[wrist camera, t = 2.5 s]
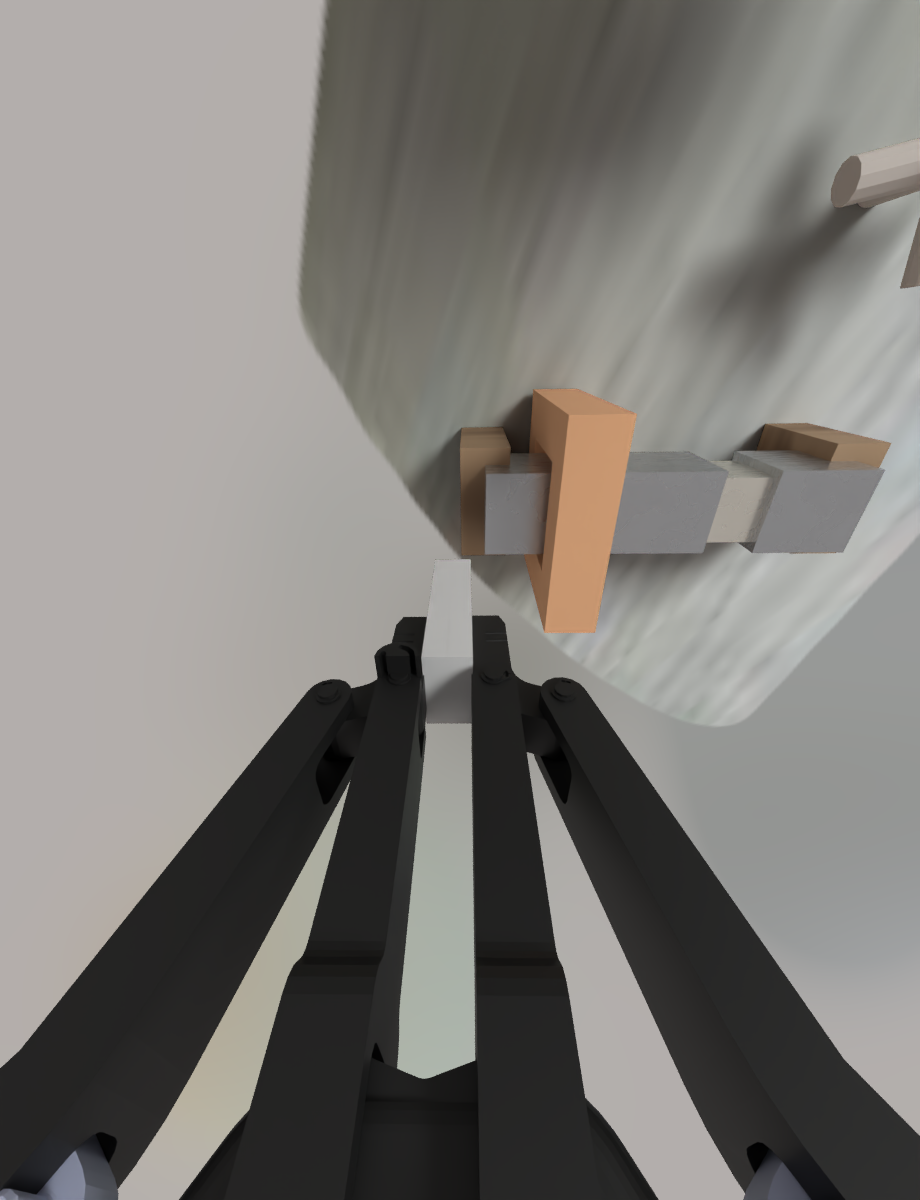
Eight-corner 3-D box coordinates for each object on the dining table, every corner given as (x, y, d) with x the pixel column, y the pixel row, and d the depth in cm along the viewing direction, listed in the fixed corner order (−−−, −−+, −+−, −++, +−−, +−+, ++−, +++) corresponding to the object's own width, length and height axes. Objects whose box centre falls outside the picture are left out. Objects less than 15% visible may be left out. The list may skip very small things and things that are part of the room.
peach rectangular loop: (533, 389, 29) (569, 414, 19) (576, 388, 29) (636, 414, 19) (522, 548, 35) (544, 632, 25) (558, 548, 35) (594, 632, 25)
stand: (461, 427, 31) (460, 448, 25) (807, 423, 30) (891, 443, 24) (462, 518, 34) (461, 555, 28) (771, 515, 34) (835, 553, 28)
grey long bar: (483, 453, 28) (486, 474, 24) (820, 450, 27) (885, 469, 23) (482, 524, 30) (484, 554, 26) (789, 522, 30) (843, 552, 26)
